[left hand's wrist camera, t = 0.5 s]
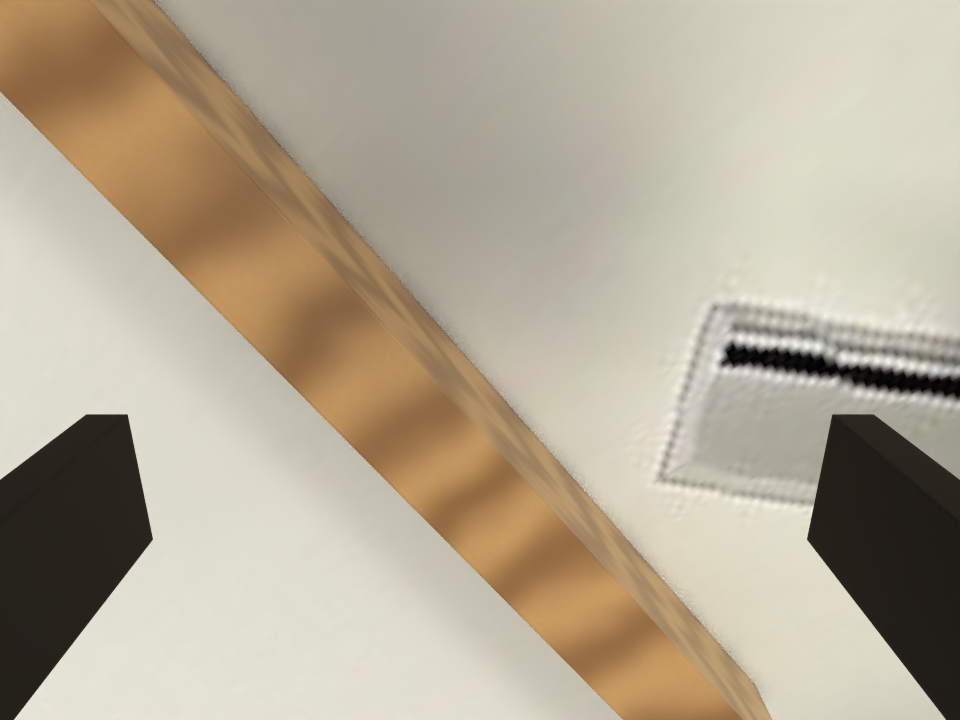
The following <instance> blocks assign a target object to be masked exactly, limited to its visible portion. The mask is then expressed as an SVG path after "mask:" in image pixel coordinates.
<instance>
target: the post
mask: <svg viewBox="0 0 960 720" xmlns="http://www.w3.org/2000/svg"><path fill="white" fill-rule="evenodd" d="M0 92H1V93H2V94H3V95H4V96H5V97H6V98H7V99H8V100H9V101H10V102H11V103H12V104H13V105H14V106H15V107H16V108H17V109H18V110H19V111H20V112H21V113H22V114H23V115H24V116H25V117H26V118H27V119H28V120H29V121H30V122H31V123H32V124H33V125H34V126H35V127H36V128H37V129H38V130H39V131H40V132H41V133H42V134H43V135H44V136H45V137H46V138H47V139H48V140H49V141H50V142H51V143H52V144H53V145H54V146H55V147H56V148H57V149H58V150H59V151H60V152H61V153H62V154H63V155H64V156H65V157H66V158H67V159H68V160H69V161H70V162H71V163H72V164H73V165H74V166H75V167H76V168H77V169H78V170H79V171H80V172H81V173H82V174H83V175H84V176H85V177H86V178H87V179H88V180H89V181H90V182H91V183H92V184H93V185H94V186H95V187H96V188H97V189H98V190H99V191H100V192H101V193H102V194H103V195H104V196H105V197H106V198H107V199H108V200H109V201H110V202H111V203H112V204H113V205H114V206H115V207H116V209H117V210H118V211H119V212H120V213H121V214H122V215H123V216H124V217H125V218H126V219H127V220H128V221H129V222H130V223H131V224H132V225H133V226H134V227H135V228H136V229H137V230H138V231H139V232H140V233H141V234H142V235H143V236H144V237H145V238H146V239H147V240H148V241H149V242H150V243H151V244H152V245H153V246H154V247H155V248H156V249H157V250H158V251H159V252H160V253H161V254H162V255H163V256H164V257H165V258H166V259H167V260H168V261H169V262H170V263H171V264H172V265H173V266H174V267H175V268H176V269H177V270H178V271H179V272H180V273H181V274H182V275H183V276H184V277H185V278H186V279H187V280H188V281H189V282H190V283H191V284H192V285H193V286H194V287H195V288H196V289H197V290H198V291H199V292H200V293H201V294H202V295H203V296H204V297H205V298H206V299H207V300H208V301H209V302H210V303H211V304H212V305H213V306H214V307H215V308H216V309H217V310H218V311H219V312H220V313H221V314H222V315H223V316H224V317H225V318H226V319H227V320H228V321H229V322H230V323H231V324H232V325H233V326H234V327H235V328H236V329H237V331H238V332H239V333H240V334H241V335H242V336H243V337H244V338H245V339H246V340H247V341H248V342H249V343H250V344H251V345H252V346H253V347H254V348H255V349H256V350H257V351H258V352H259V353H260V354H261V355H262V356H263V357H264V358H265V359H266V360H267V361H268V362H269V363H270V364H271V365H272V366H273V367H274V368H275V369H276V370H277V371H278V372H279V373H280V374H281V375H282V376H283V377H284V378H285V379H286V380H287V381H288V382H289V383H290V384H291V385H292V386H293V387H294V388H295V389H296V390H297V391H298V392H299V393H300V394H301V395H302V396H303V397H304V398H305V399H306V400H307V401H308V402H309V403H310V404H311V405H312V406H313V407H314V408H315V409H316V410H317V411H318V412H319V413H320V414H321V415H322V416H323V417H324V418H325V419H326V420H327V421H328V422H329V423H330V424H331V425H332V426H333V427H334V428H335V429H336V430H337V431H338V432H339V433H340V434H341V435H342V436H343V437H344V438H345V439H346V440H347V441H348V442H349V443H350V444H351V445H352V446H353V447H354V448H355V449H356V450H357V451H358V452H359V454H360V455H361V456H362V457H363V458H364V459H365V460H366V461H367V462H368V463H369V464H370V465H371V466H372V467H373V468H374V469H375V470H376V471H377V472H378V473H379V474H380V475H381V476H382V477H383V478H384V479H385V480H386V481H387V482H388V483H389V484H390V485H391V486H392V487H393V488H394V489H395V490H396V491H397V492H398V493H399V494H400V495H401V496H402V497H403V498H404V499H405V500H406V501H407V502H408V503H409V504H410V505H411V506H412V507H413V508H414V509H415V510H416V511H417V512H418V513H419V514H420V515H421V516H422V517H423V518H424V519H425V520H426V521H427V522H428V523H429V524H430V525H431V526H432V527H433V528H434V529H435V530H436V531H437V532H438V533H439V534H440V535H441V536H442V537H443V538H444V539H445V540H446V541H447V542H448V543H449V544H450V545H451V546H452V547H453V548H454V549H455V550H456V551H457V552H458V553H459V554H460V555H461V556H462V557H463V558H464V559H465V560H466V561H467V562H468V563H469V564H470V565H471V566H472V567H473V568H474V569H475V570H476V571H477V572H478V573H479V574H480V576H481V577H482V578H483V579H484V580H485V581H486V582H487V583H488V584H489V585H490V586H491V587H492V588H493V589H494V590H495V591H496V592H497V593H498V594H499V595H500V596H501V597H502V598H503V599H504V600H505V601H506V602H507V603H508V604H509V605H510V606H511V607H512V608H513V609H514V610H515V611H516V612H517V613H518V614H519V615H520V616H521V617H522V618H523V619H524V620H525V621H526V622H527V623H528V624H529V625H530V626H531V627H532V628H533V629H534V630H535V631H536V632H537V633H538V634H539V635H540V636H541V637H542V638H543V639H544V640H545V641H546V642H547V643H548V644H549V645H550V646H551V647H552V648H553V649H554V650H555V651H556V652H557V653H558V654H559V655H560V656H561V657H562V658H563V659H564V660H565V661H566V662H567V663H568V664H569V665H570V666H571V667H572V668H573V669H574V670H575V671H576V672H577V673H578V674H579V675H580V676H581V677H582V678H583V679H584V680H585V681H586V682H587V683H588V684H589V685H590V686H591V687H592V688H593V689H594V690H595V691H596V692H597V693H598V694H599V695H600V696H601V697H602V699H603V700H604V701H605V702H606V703H607V704H608V705H609V706H610V707H611V708H612V709H613V710H614V711H615V712H616V713H617V714H618V715H619V716H620V717H621V718H622V719H623V720H772V718H771V716H770V714H769V712H768V710H767V708H766V706H765V704H764V702H763V700H762V698H761V696H760V694H759V692H758V690H757V687H756V686H755V685H754V684H753V682H752V681H751V680H750V679H749V678H748V677H747V676H746V674H745V673H744V672H743V671H742V670H741V669H740V668H739V666H738V665H737V664H736V663H735V662H734V661H733V660H732V659H731V657H730V656H729V655H728V654H727V653H726V652H725V651H724V649H723V648H722V647H721V646H720V645H719V644H718V643H717V641H716V640H715V639H714V638H713V637H712V636H711V635H710V634H709V632H708V631H707V630H706V629H705V628H704V627H703V626H702V624H701V623H700V622H699V621H698V620H697V619H696V618H695V616H694V615H693V614H692V613H691V612H690V611H689V610H688V609H687V607H686V606H685V605H684V604H683V603H682V602H681V601H680V599H679V598H678V597H677V596H676V595H675V594H674V593H673V591H672V590H671V589H670V588H669V587H668V586H667V585H666V584H665V582H664V581H663V580H662V579H661V578H660V577H659V576H658V574H657V573H656V572H655V571H654V570H653V569H652V568H651V566H650V565H649V564H648V563H647V562H646V561H645V560H644V558H643V557H642V556H641V555H640V554H639V553H638V552H637V551H636V549H635V548H634V547H633V546H632V545H631V544H630V543H629V541H628V540H627V539H626V538H625V537H624V536H623V535H622V533H621V532H620V531H619V530H618V529H617V528H616V527H615V526H614V524H613V523H612V522H611V521H610V520H609V519H608V518H607V516H606V515H605V514H604V513H603V512H602V511H601V510H600V508H599V507H598V506H597V505H596V504H595V503H594V502H593V501H592V499H591V498H590V497H589V496H588V495H587V494H586V493H585V491H584V490H583V489H582V488H581V487H580V486H579V485H578V483H577V482H576V481H575V480H574V479H573V478H572V477H571V476H570V474H569V473H568V472H567V471H566V470H565V469H564V468H563V466H562V465H561V464H560V463H559V462H558V461H557V460H556V458H555V457H554V456H553V455H552V454H551V453H550V452H549V450H548V449H547V448H546V447H545V446H544V445H543V444H542V443H541V441H540V440H539V439H538V438H537V437H536V436H535V435H534V433H533V432H532V431H531V430H530V429H529V428H528V427H527V425H526V424H525V423H524V422H523V421H522V420H521V419H520V418H519V416H518V415H517V414H516V413H515V412H514V411H513V410H512V408H511V407H510V406H509V405H508V404H507V403H506V402H505V400H504V399H503V398H502V397H501V396H500V395H499V394H498V393H497V391H496V390H495V389H494V388H493V387H492V386H491V385H490V383H489V382H488V381H487V380H486V379H485V378H484V377H483V375H482V374H481V373H480V372H479V371H478V370H477V369H476V368H475V366H474V365H473V364H472V363H471V362H470V361H469V360H468V358H467V357H466V356H465V355H464V354H463V353H462V352H461V350H460V349H459V348H458V347H457V346H456V345H455V344H454V343H453V341H452V340H451V339H450V338H449V337H448V336H447V335H446V333H445V332H444V331H443V330H442V329H441V328H440V327H439V325H438V324H437V323H436V322H435V321H434V320H433V319H432V317H431V316H430V315H429V314H428V313H427V312H426V311H425V310H424V308H423V307H422V306H421V305H420V304H419V303H418V302H417V300H416V299H415V298H414V297H413V296H412V295H411V294H410V292H409V291H408V290H407V289H406V288H405V287H404V286H403V285H402V283H401V282H400V281H399V280H398V279H397V278H396V277H395V275H394V274H393V273H392V272H391V271H390V270H389V269H388V267H387V266H386V265H385V264H384V263H383V262H382V261H381V260H380V258H379V257H378V256H377V255H376V254H375V253H374V252H373V250H372V249H371V248H370V247H369V246H368V245H367V244H366V242H365V241H364V240H363V239H362V238H361V237H360V236H359V235H358V233H357V232H356V231H355V230H354V229H353V228H352V227H351V225H350V224H349V223H348V222H347V221H346V220H345V219H344V217H343V216H342V215H341V214H340V213H339V212H338V211H337V209H336V208H335V207H334V206H333V205H332V204H331V203H330V202H329V200H328V199H327V198H326V197H325V196H324V195H323V194H322V192H321V191H320V190H319V189H318V188H317V187H316V186H315V184H314V183H313V182H312V181H311V180H310V179H309V178H308V177H307V175H306V174H305V173H304V172H303V171H302V170H301V169H300V167H299V166H298V165H297V164H296V163H295V162H294V161H293V159H292V158H291V157H290V156H289V155H288V154H287V153H286V152H285V150H284V149H283V148H282V147H281V146H280V145H279V144H278V142H277V141H276V140H275V139H274V138H273V137H272V136H271V134H270V133H269V132H268V131H267V130H266V129H265V128H264V127H263V125H262V124H261V123H260V122H259V121H258V120H257V119H256V117H255V116H254V115H253V114H252V113H251V112H250V111H249V109H248V108H247V107H246V106H245V105H244V104H243V103H242V101H241V100H240V99H239V98H238V97H237V96H236V95H235V94H234V92H233V91H232V90H231V89H230V88H229V87H228V86H227V84H226V83H225V82H224V81H223V80H222V79H221V78H220V76H219V75H218V74H217V73H216V72H215V71H214V70H213V69H212V67H211V66H210V65H209V64H208V63H207V62H206V61H205V59H204V58H203V57H202V56H201V55H200V54H199V53H198V51H197V50H196V49H195V48H194V47H193V46H192V45H191V44H190V42H189V41H188V40H187V39H186V38H185V37H184V36H183V34H182V33H181V32H180V31H179V30H178V29H177V28H176V26H175V25H174V24H173V23H172V22H171V21H170V20H169V19H168V17H167V16H166V15H165V14H164V13H163V12H162V11H161V9H160V8H159V7H158V6H157V5H156V4H155V3H154V1H153V0H0Z"/></svg>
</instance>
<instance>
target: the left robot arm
mask: <svg viewBox="0 0 960 720" xmlns="http://www.w3.org/2000/svg"><path fill="white" fill-rule="evenodd" d="M152 540H153V537H152V533H151V528H150V523H149V518H148V513H147V508H146V503H145V498H144V493H143V488H142V483H141V478H140V473H139V468H138V464H137V459H136V454H135V449H134V444H133V439H132V434H131V429H130V424H129V419H128V415H85V416H84V417H82V418H81V419H80V420H79V421H77V422H76V423H75V424H73V425H72V426H71V427H69V428H68V429H67V430H65V431H64V432H63V433H61V434H60V435H59V436H57V437H56V438H55V439H53V440H52V441H51V442H50V443H48V444H47V445H46V446H44V447H43V448H42V449H40V450H39V451H38V452H36V453H35V454H34V455H32V456H31V457H30V458H28V459H27V460H26V461H24V462H23V463H22V464H21V465H19V466H18V467H17V468H15V469H14V470H13V471H11V472H10V473H9V474H7V475H6V476H5V477H3V478H2V479H1V480H0V720H14V719H15V718H16V716H17V715H18V714H19V712H20V711H21V710H22V708H23V707H24V706H25V705H26V703H27V702H28V701H29V699H30V698H31V697H32V695H33V694H34V693H35V692H36V690H37V689H38V688H39V686H40V685H41V684H42V683H43V681H44V680H45V679H46V677H47V676H48V675H49V673H50V672H51V671H52V670H53V668H54V667H55V666H56V664H57V663H58V662H59V661H60V659H61V658H62V657H63V655H64V654H65V653H66V651H67V650H68V649H69V648H70V646H71V645H72V644H73V642H74V641H75V640H76V638H77V637H78V636H79V635H80V633H81V632H82V631H83V629H84V628H85V627H86V626H87V624H88V623H89V622H90V620H91V619H92V618H93V616H94V615H95V614H96V613H97V611H98V610H99V609H100V607H101V606H102V605H103V604H104V602H105V601H106V600H107V598H108V597H109V596H110V594H111V593H112V592H113V591H114V589H115V588H116V587H117V585H118V584H119V583H120V581H121V580H122V579H123V578H124V576H125V575H126V574H127V572H128V571H129V570H130V569H131V567H132V566H133V565H134V563H135V562H136V561H137V559H138V558H139V557H140V556H141V554H142V553H143V552H144V550H145V549H146V548H147V547H148V545H149V544H150V543H151V541H152ZM807 540H808V541H809V543H810V544H811V545H812V547H813V548H814V549H815V550H816V552H817V553H818V554H819V556H820V557H821V558H822V559H823V561H824V562H825V563H826V565H827V566H828V567H829V569H830V570H831V571H832V572H833V574H834V575H835V576H836V578H837V579H838V580H839V581H840V583H841V584H842V585H843V587H844V588H845V589H846V591H847V592H848V593H849V594H850V596H851V597H852V598H853V600H854V601H855V602H856V604H857V605H858V606H859V607H860V609H861V610H862V611H863V613H864V614H865V615H866V616H867V618H868V619H869V620H870V622H871V623H872V624H873V626H874V627H875V628H876V629H877V631H878V632H879V633H880V635H881V636H882V637H883V638H884V640H885V641H886V642H887V644H888V645H889V646H890V648H891V649H892V650H893V651H894V653H895V654H896V655H897V657H898V658H899V659H900V661H901V662H902V663H903V664H904V666H905V667H906V668H907V670H908V671H909V672H910V673H911V675H912V676H913V677H914V679H915V680H916V681H917V683H918V684H919V685H920V686H921V688H922V689H923V690H924V692H925V693H926V694H927V695H928V697H929V698H930V699H931V701H932V702H933V703H934V705H935V706H936V707H937V708H938V710H939V711H940V712H941V714H942V715H943V716H944V718H945V719H946V720H960V480H959V479H958V478H957V477H955V476H954V475H953V474H951V473H950V472H949V471H947V470H946V469H945V468H943V467H942V466H941V465H939V464H938V463H937V462H935V461H934V460H933V459H932V458H930V457H929V456H928V455H926V454H925V453H924V452H922V451H921V450H920V449H918V448H917V447H916V446H914V445H913V444H912V443H910V442H909V441H908V440H907V439H905V438H904V437H903V436H901V435H900V434H899V433H897V432H896V431H895V430H893V429H892V428H891V427H889V426H888V425H887V424H885V423H884V422H883V421H881V420H880V419H879V418H878V417H876V416H875V415H832V419H831V424H830V429H829V434H828V439H827V444H826V449H825V454H824V459H823V464H822V468H821V473H820V478H819V483H818V488H817V493H816V498H815V503H814V508H813V513H812V518H811V523H810V528H809V533H808V537H807Z"/></svg>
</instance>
